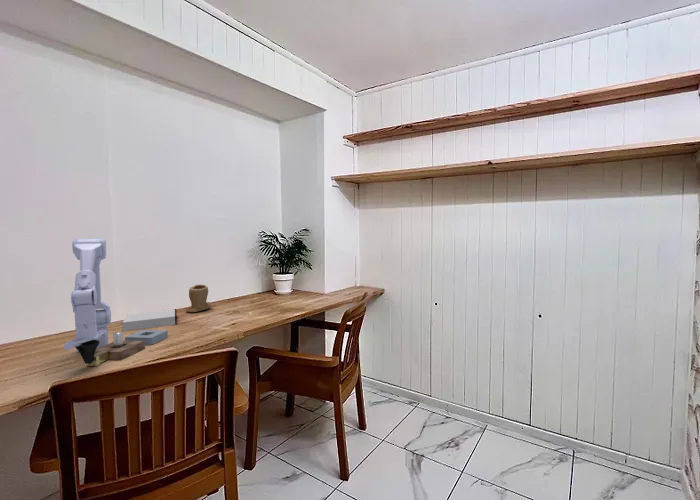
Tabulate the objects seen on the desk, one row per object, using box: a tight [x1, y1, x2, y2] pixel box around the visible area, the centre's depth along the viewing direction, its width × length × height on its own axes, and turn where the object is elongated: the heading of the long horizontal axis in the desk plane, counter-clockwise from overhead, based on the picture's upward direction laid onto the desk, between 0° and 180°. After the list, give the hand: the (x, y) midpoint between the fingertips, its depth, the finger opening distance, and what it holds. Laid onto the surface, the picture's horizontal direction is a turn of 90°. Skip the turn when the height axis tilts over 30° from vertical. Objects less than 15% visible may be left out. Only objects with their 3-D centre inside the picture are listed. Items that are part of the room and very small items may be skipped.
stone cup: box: [184, 284, 214, 313], centre depth 198 cm, size 15×12×15 cm
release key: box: [85, 351, 109, 367], centre depth 121 cm, size 4×6×3 cm, turn 173°
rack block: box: [124, 329, 169, 346], centre depth 145 cm, size 12×10×3 cm
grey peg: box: [112, 331, 124, 348], centre depth 130 cm, size 3×3×8 cm
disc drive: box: [122, 308, 178, 332], centre depth 172 cm, size 18×22×5 cm
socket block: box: [95, 339, 146, 361], centre depth 130 cm, size 12×12×3 cm
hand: (88, 363), depth 117 cm, fingers closed
